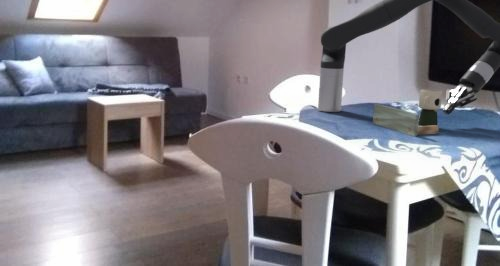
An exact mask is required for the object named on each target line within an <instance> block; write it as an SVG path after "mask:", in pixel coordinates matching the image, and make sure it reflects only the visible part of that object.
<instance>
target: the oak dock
mask: <svg viewBox="0 0 500 266" xmlns="http://www.w3.org/2000/svg"><path fill="white" fill-rule="evenodd" d="M419 118H420V114H419V113H415V112H411V111H407V110H405V109H399V108H395V107H392V106H388V105H384V104H381V103H374V105H373V115H372V124H374V125H377V126H380V127H384V128H386V129H389V130H392V131H395V132H399V133H402V134H406V135H407V136H412V137H418V136H422V135H432V134H433V135H435V134H439V131H440V126H439V125H438V124H437V125H431V126H421V125H418V123H419Z"/></svg>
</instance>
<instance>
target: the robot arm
mask: <svg viewBox="0 0 500 266" xmlns="http://www.w3.org/2000/svg"><path fill="white" fill-rule="evenodd" d="M432 1H433V0H381V1H378V2H377V3H375V4H373V5H371V6H370V7H367V8H366V9H365V10H363V11H361V12H359V13H358V14H357V15H355V16H354V17H352V18H350V19H348V20H346V21H344V22H341V23H338V24H336V25H333V26H330V27H328V28H326V29H324V31H323V33H322V34H321V35H320V36H321V37H320V44H321V46H322V52H321V53H322V55H321V60H320V67H319V68H320V70H319V87H318V104H317V106H318V107H317V109H318V112H327V113H328V112H329V113H330V112H331V113H337V112H341V111H342V102H343V100H342V99H343V86H344V85H343V84H344V82H343V81H344V70H345V69H344V68H345V60H346V53H347V52H346V49H347V48H346V47H347V44H348V43H350V42H352V41H353V40H355V39H357V38H358V37H361V36H363V35H367V34H370V33H373V32H375V31H378V30H380V29H383V28H385V27H387V26H389V25H391V24H393V23H395V22H397V21H398V20H400V19H402V18H404V17H405V16H407V15H408V14H409V13H411V12H412V11H413V10H415V9H416V8H418V7H419V6H422V5H424V4H425V5H426V4H427V3H429V2H432ZM434 1H436V2H437V3H438V4H441V6H444V8H447V9H448V10H450V11H451V12H452V13H454V15H456V17H458V18H459V19H460V20H461V21H462V22H463V23H464V24H465V25H467V26H468V27H469V28H470V29H471V30H472V31H474V33H476V34H477V35H478V36H479V37H480V38H482V39H488V38H489V39H491V40H493V41H492V42H491V44H490V45H489V46H488V48H487V49H486V51H485V52H484V53H483V54H482V55H481V56H480V58H479V59H477V61H476V62H475V63H473V65H471V67H469V69H467V71H466V72H465V73H464V74H463V75H462V76H461V78H460V79H459V83H458V85H457V86H455V87H454V89H449V88H447V90H446V92H445V101H446V102H447V104H446V105H445V106H444V107H443V109H442V112H443V113H444V114H445V115H450V114H451V113H452V112H453V111H454V110H455V109H457V108H458V107H460V108H463V107H465V106H467V105H469V104H471V103H473V102H475V101H477V99H478V98H477V96H476V94H478V93H479V92H480V91H481V90H482V88H484V86H485V85H486V84H487V83H488V82H489V81H490V79H491V78H492V76H493V75H494V74H495V73H496V72H497V70H498V69H499V68H500V22H498V21H496V20H495V19H494V18H493V17H492V16H491V15H489V14H488V13H487V12H486V11H484V10H483V9H482V8H481V7H479V6H477V5H475V4H474V3H473V2H471V1H469V0H434Z"/></svg>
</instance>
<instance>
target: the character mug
mask: <svg viewBox="0 0 500 266" xmlns="http://www.w3.org/2000/svg"><path fill="white" fill-rule="evenodd" d="M418 98H419V100H418V107H419V109H422V110H421V111H420V114H419V123H418V126H431V125H438V112H437V110H440V109H441V107H442V100H443V90H441V89H435V88H434V89H433V88H421V89H420V90H419V97H418Z"/></svg>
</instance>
